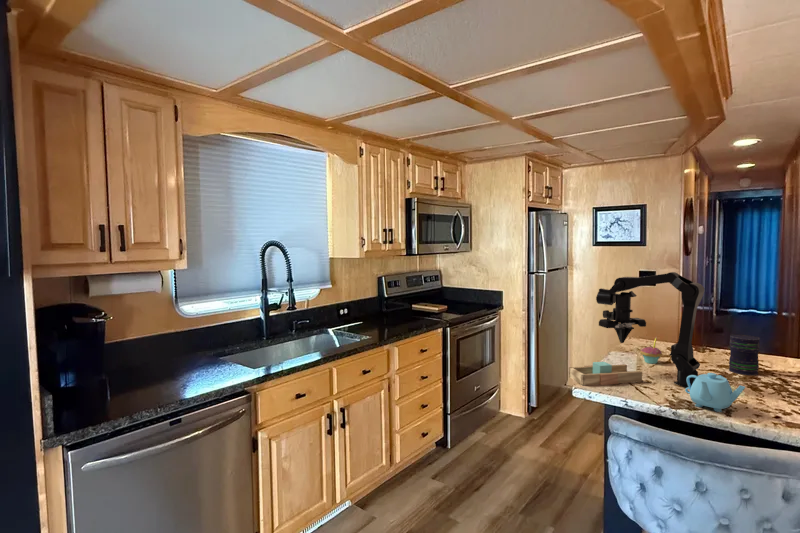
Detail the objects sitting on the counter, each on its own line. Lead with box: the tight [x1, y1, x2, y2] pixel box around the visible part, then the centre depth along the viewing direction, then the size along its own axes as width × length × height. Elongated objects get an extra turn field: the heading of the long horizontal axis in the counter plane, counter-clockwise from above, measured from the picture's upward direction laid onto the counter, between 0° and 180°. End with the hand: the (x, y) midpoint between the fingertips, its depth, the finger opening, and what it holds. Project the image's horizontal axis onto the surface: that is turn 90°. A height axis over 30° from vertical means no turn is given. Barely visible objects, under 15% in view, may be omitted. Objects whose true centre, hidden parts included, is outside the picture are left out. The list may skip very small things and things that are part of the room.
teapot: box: [684, 372, 746, 413], centre depth 146 cm, size 15×14×11 cm
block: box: [592, 361, 613, 374], centre depth 175 cm, size 5×5×5 cm
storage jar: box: [728, 333, 761, 376], centre depth 183 cm, size 10×10×15 cm
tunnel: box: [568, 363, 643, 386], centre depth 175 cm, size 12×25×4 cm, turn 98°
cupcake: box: [639, 337, 663, 365], centre depth 198 cm, size 9×8×12 cm
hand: (621, 342), depth 185 cm, fingers closed
